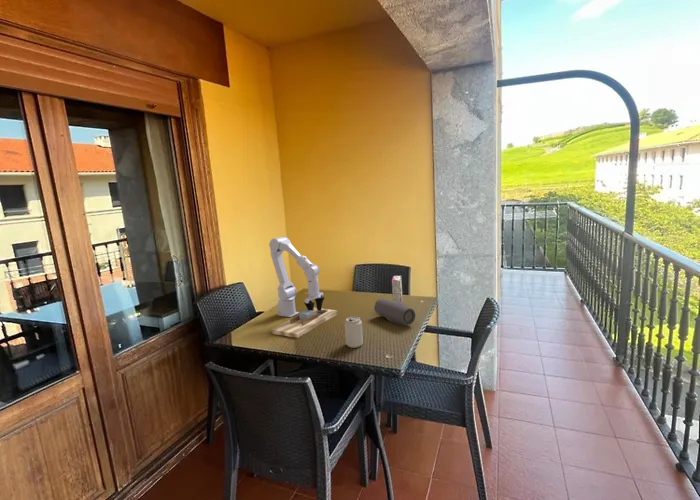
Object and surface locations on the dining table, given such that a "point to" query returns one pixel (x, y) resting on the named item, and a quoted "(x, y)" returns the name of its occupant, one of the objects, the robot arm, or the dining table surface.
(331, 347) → the dining table surface
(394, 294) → the candy bar box
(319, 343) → the dining table surface
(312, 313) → the slate block
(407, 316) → the bluetooth speaker
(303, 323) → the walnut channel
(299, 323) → the birch deck
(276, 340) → the dining table surface
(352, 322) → the can
